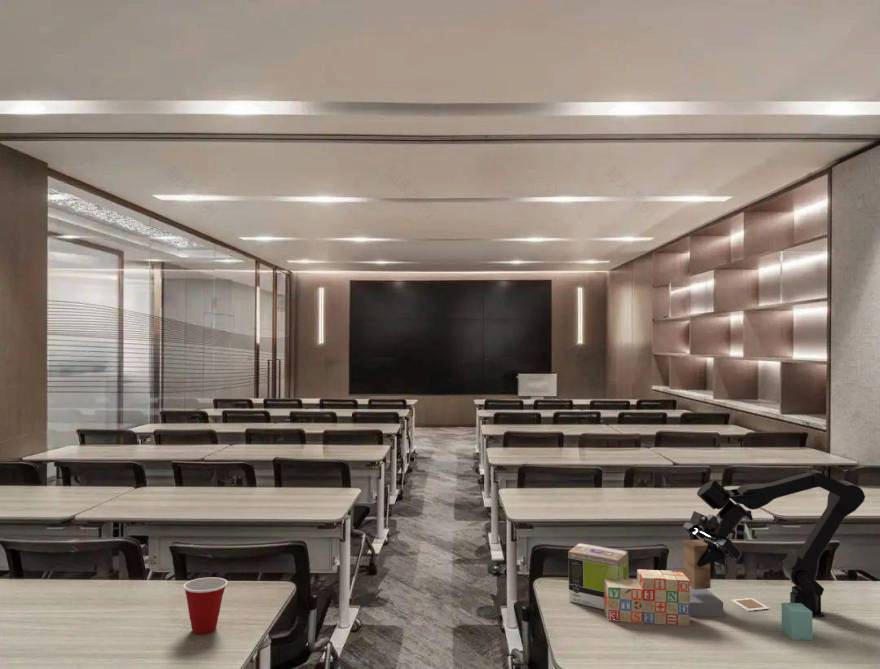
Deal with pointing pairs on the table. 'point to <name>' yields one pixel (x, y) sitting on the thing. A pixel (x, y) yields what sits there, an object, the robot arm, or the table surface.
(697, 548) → the walnut block
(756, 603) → the card
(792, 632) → the teal block
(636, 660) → the table surface
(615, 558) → the tea box
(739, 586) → the table surface
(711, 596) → the base block
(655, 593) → the stack of blocks
